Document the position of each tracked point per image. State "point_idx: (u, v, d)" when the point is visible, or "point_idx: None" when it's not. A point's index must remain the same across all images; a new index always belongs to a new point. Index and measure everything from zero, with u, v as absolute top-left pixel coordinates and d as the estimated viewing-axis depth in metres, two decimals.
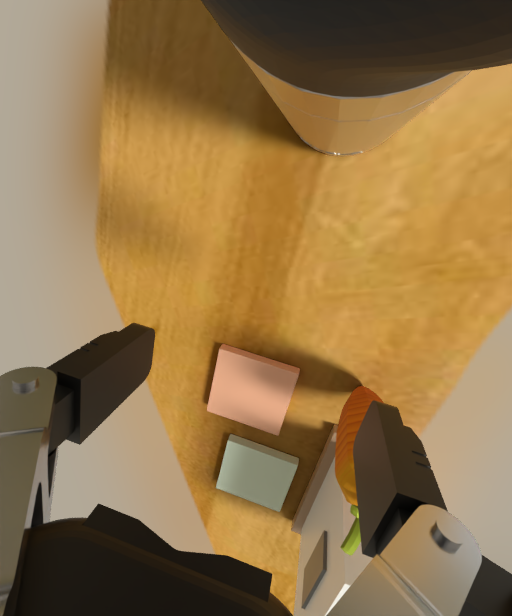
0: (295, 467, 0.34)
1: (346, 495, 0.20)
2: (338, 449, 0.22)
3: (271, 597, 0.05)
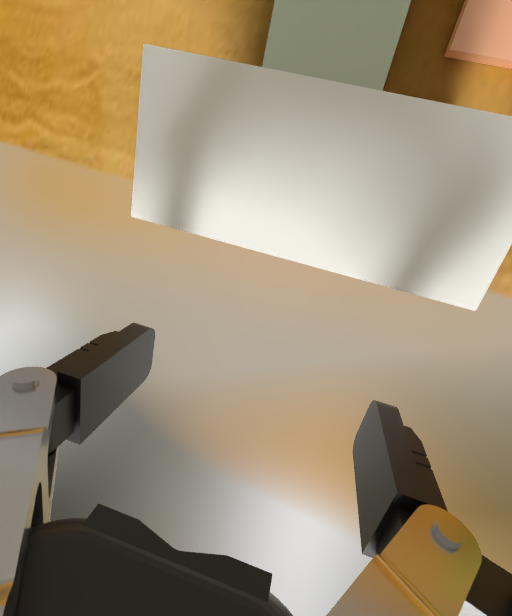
0: None
1: None
2: None
3: (271, 597, 0.05)
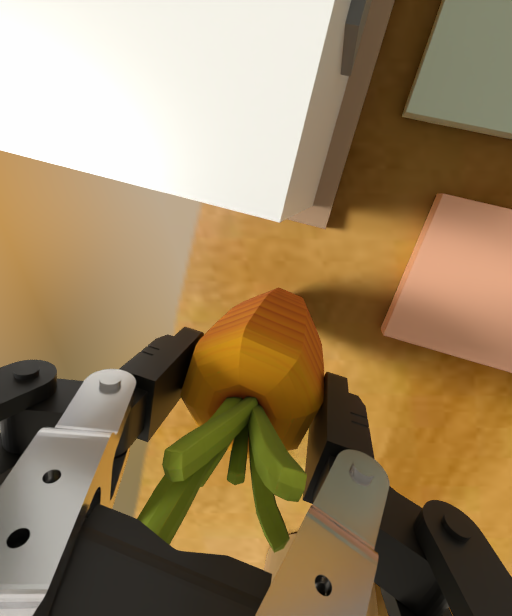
0: (413, 102, 0.14)
1: (298, 391, 0.09)
2: None
3: None
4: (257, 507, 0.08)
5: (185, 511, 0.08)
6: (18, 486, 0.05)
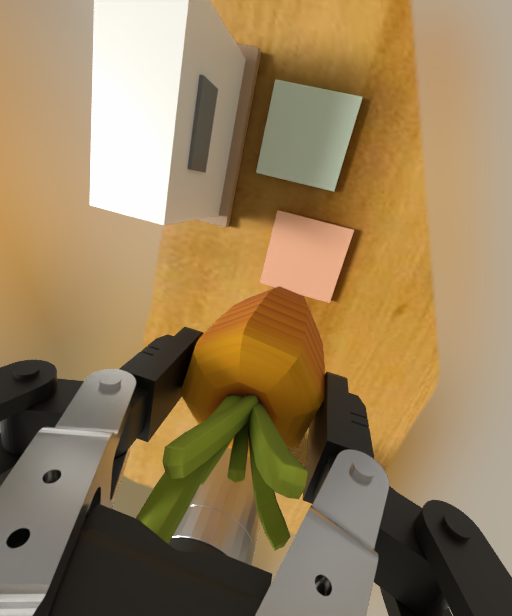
0: (258, 168, 0.31)
1: (299, 389, 0.09)
2: None
3: None
4: (257, 505, 0.08)
5: (186, 507, 0.08)
6: (18, 486, 0.05)
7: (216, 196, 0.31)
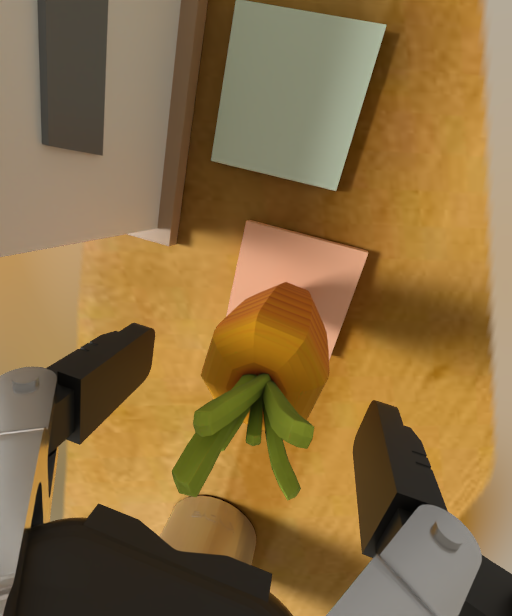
0: (214, 154, 0.19)
1: (306, 368, 0.11)
2: None
3: (271, 597, 0.05)
4: (272, 462, 0.09)
5: (212, 465, 0.09)
6: None
7: (146, 198, 0.19)
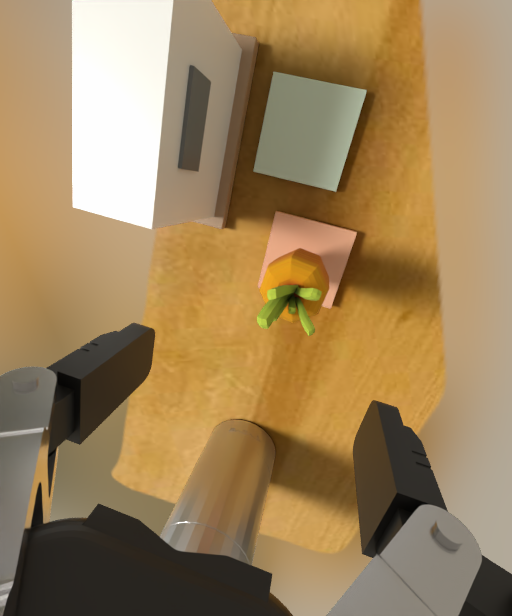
0: (255, 167, 0.30)
1: (317, 281, 0.21)
2: None
3: (271, 597, 0.05)
4: (301, 318, 0.19)
5: (273, 319, 0.19)
6: None
7: (211, 196, 0.29)
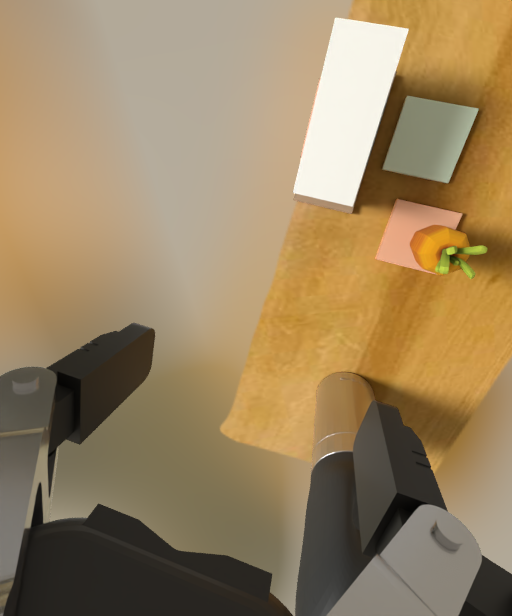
0: (385, 165, 0.39)
1: (467, 244, 0.30)
2: None
3: (271, 597, 0.05)
4: (465, 267, 0.29)
5: None
6: None
7: None
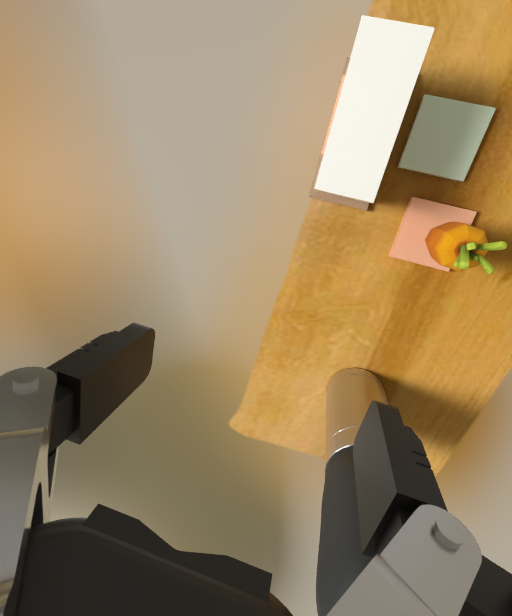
0: (401, 163, 0.40)
1: (485, 241, 0.31)
2: None
3: (271, 597, 0.05)
4: (484, 263, 0.29)
5: None
6: None
7: None
